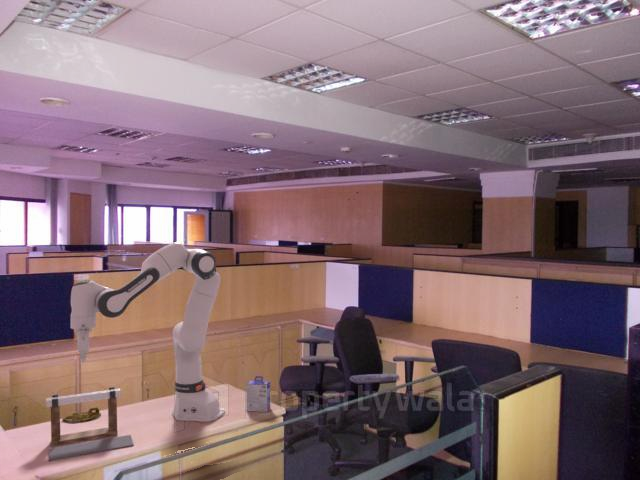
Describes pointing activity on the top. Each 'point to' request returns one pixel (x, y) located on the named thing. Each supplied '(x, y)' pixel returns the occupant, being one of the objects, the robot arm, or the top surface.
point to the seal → (83, 416)
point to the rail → (83, 397)
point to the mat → (90, 447)
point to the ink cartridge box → (258, 395)
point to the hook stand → (85, 435)
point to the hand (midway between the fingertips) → (82, 358)
